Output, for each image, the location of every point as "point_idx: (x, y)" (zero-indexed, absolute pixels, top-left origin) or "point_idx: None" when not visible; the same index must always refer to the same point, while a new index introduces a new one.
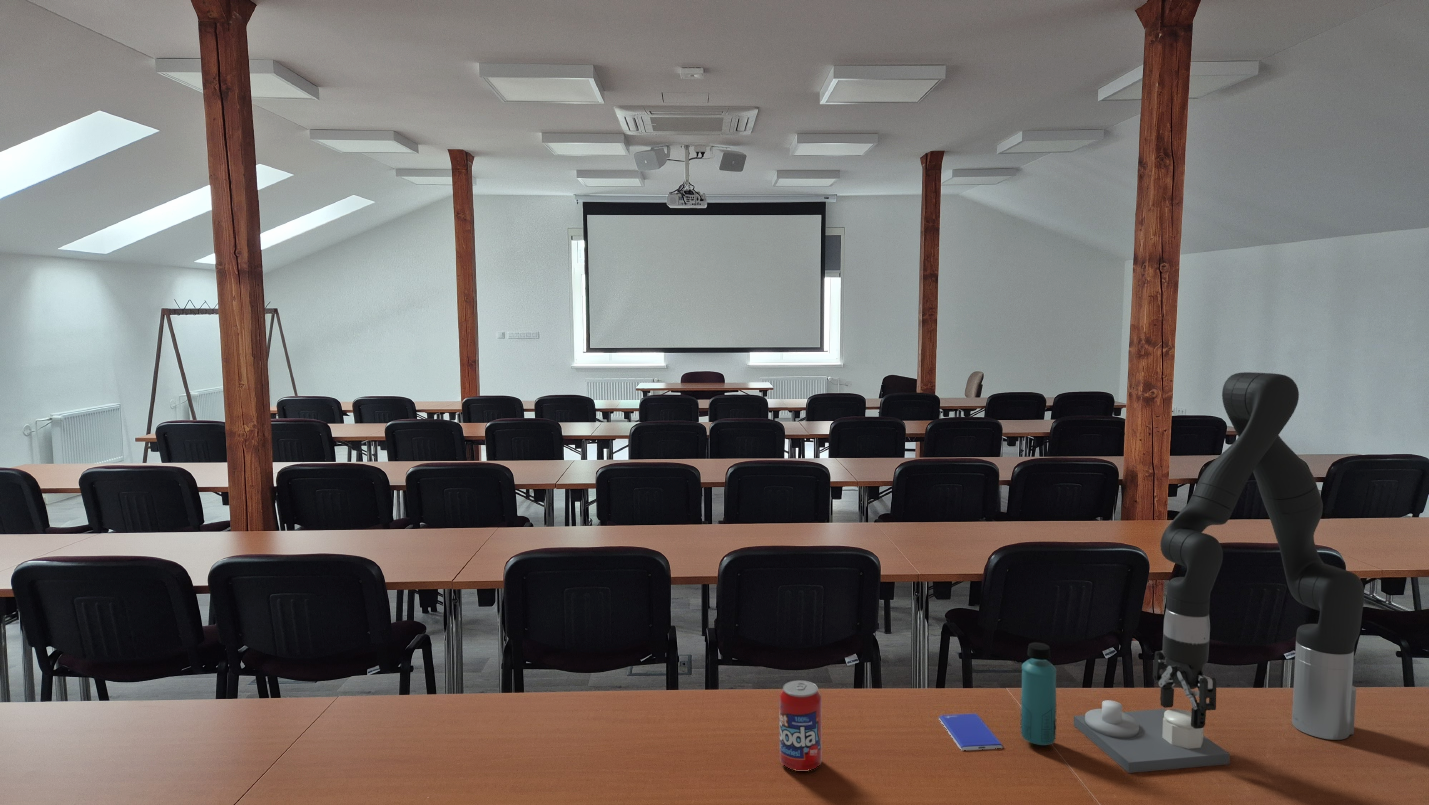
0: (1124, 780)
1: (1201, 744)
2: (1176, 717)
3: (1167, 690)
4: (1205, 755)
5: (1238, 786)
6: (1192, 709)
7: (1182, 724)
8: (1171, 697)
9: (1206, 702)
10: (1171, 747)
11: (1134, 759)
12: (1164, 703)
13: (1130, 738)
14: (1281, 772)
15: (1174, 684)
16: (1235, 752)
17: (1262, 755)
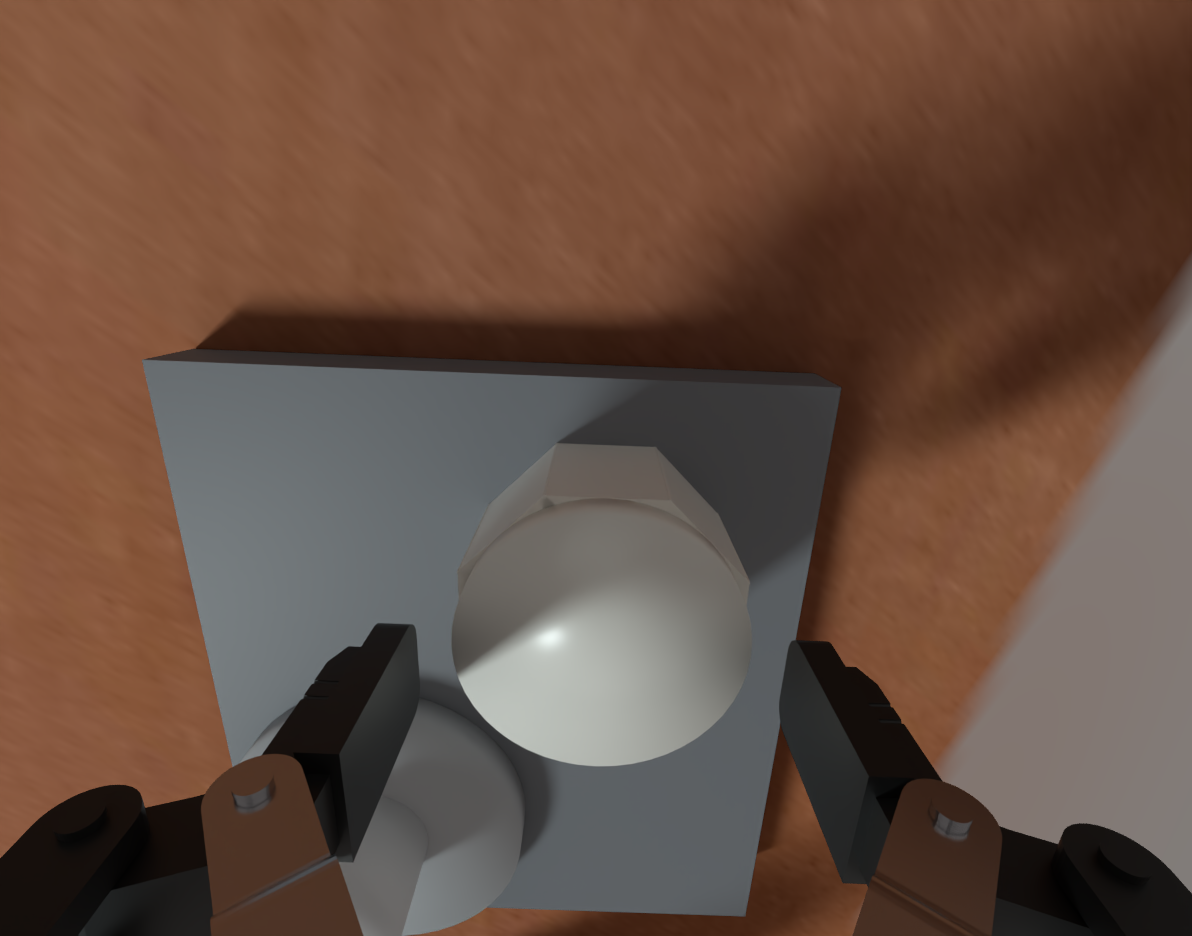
0: (776, 901)
1: (700, 496)
2: (597, 704)
3: (354, 811)
4: (806, 552)
5: (1010, 501)
6: (853, 874)
7: (705, 725)
8: (380, 697)
9: (992, 874)
10: None
11: (729, 885)
12: (407, 717)
13: (534, 796)
14: (1015, 95)
15: (314, 811)
16: (704, 211)
17: (793, 29)
